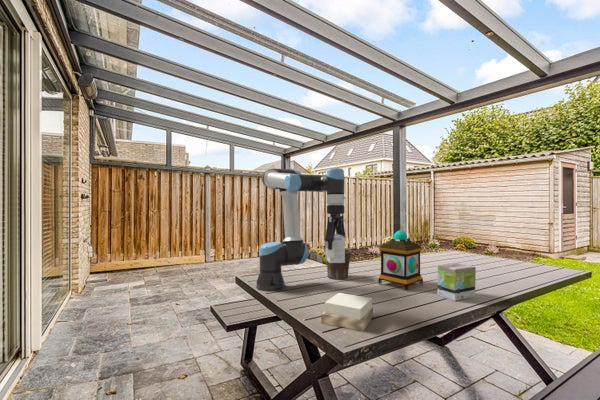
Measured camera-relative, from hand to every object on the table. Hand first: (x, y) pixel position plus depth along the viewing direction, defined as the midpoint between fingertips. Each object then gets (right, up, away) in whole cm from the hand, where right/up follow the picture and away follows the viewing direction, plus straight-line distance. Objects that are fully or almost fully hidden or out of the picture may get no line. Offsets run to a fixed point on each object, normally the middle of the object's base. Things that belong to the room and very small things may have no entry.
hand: (335, 255), depth 128 cm
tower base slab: (+3, -23, -12) cm, 26 cm away
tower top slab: (+4, -19, -12) cm, 23 cm away
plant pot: (+7, -23, +52) cm, 58 cm away
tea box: (+60, -23, +16) cm, 67 cm away
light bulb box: (0, -3, 0) cm, 3 cm away
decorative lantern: (+40, -23, +36) cm, 59 cm away
